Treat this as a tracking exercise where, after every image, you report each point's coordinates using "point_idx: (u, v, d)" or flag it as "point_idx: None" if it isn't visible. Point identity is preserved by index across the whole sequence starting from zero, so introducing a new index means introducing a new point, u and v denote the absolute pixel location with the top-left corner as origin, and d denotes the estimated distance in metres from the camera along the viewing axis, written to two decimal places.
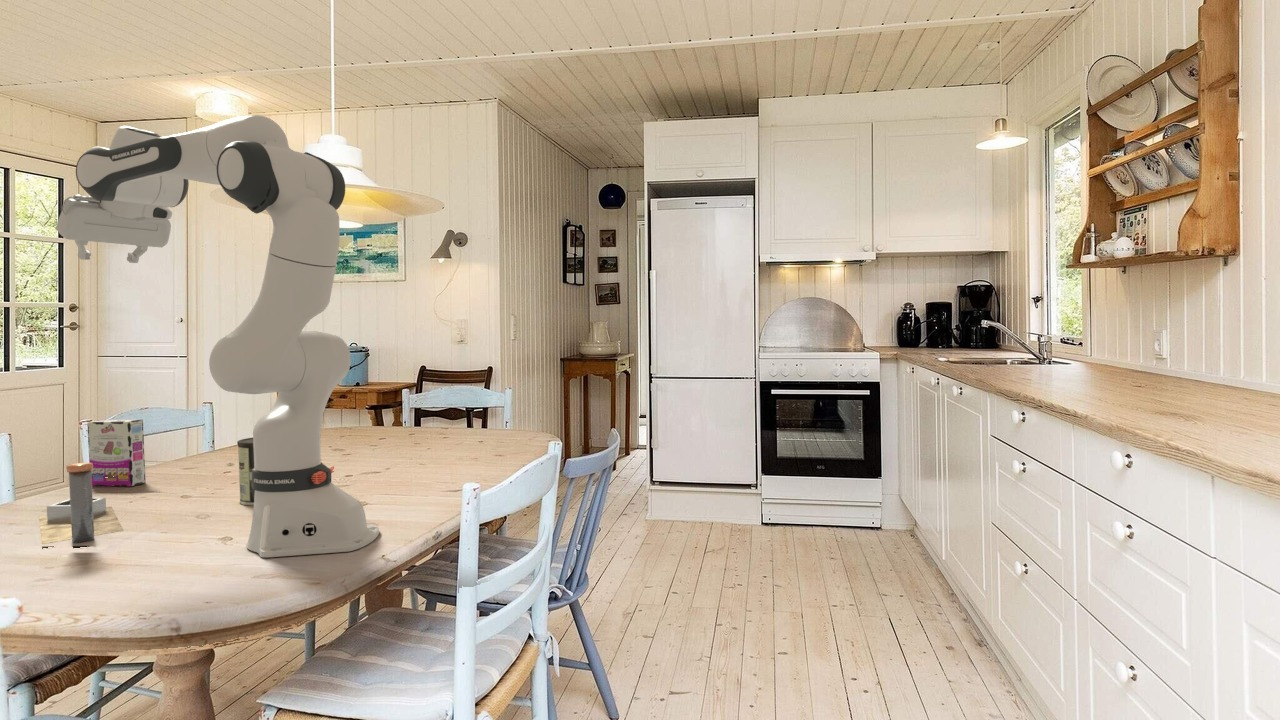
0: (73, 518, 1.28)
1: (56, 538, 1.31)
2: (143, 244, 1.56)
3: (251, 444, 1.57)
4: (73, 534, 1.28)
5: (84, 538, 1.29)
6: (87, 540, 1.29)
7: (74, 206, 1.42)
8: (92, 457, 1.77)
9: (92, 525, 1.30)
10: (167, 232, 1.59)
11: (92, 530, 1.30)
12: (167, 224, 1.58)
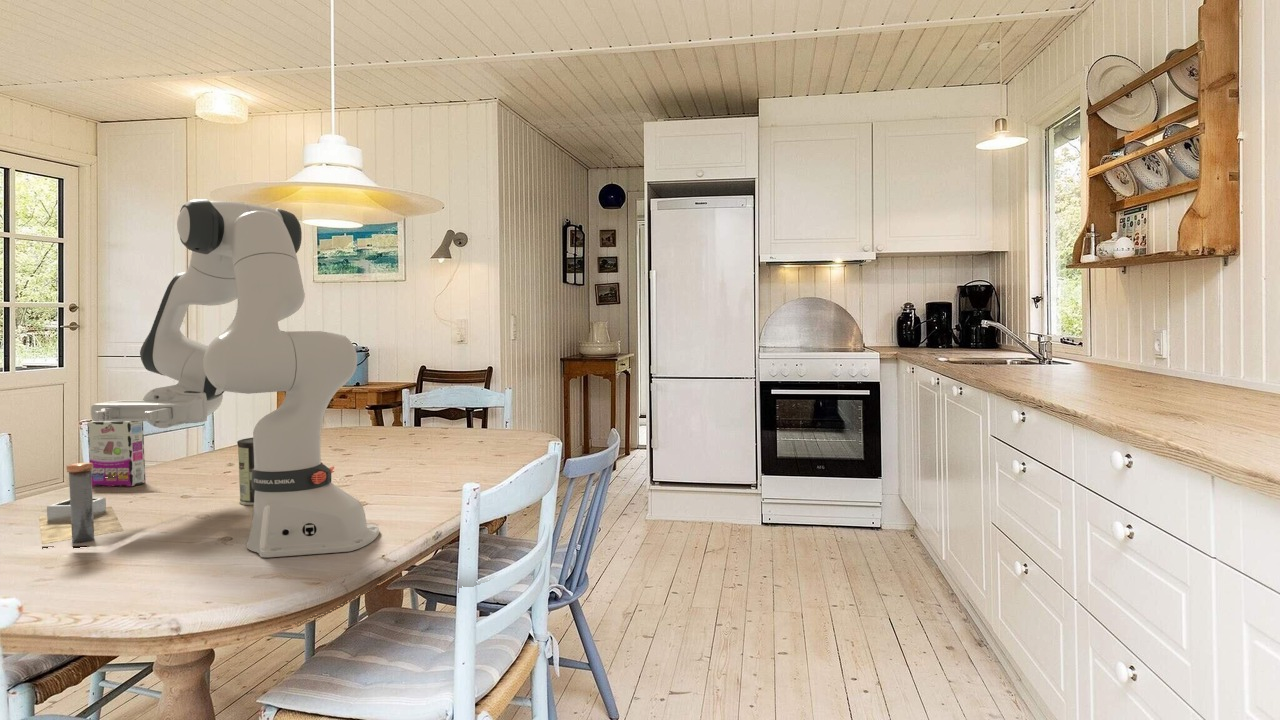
0: (73, 518, 1.28)
1: (56, 538, 1.31)
2: (165, 404, 1.46)
3: (251, 444, 1.57)
4: (73, 534, 1.28)
5: (84, 538, 1.29)
6: (87, 540, 1.29)
7: None
8: (92, 457, 1.77)
9: (92, 525, 1.30)
10: (195, 399, 1.50)
11: (92, 530, 1.30)
12: (197, 397, 1.52)
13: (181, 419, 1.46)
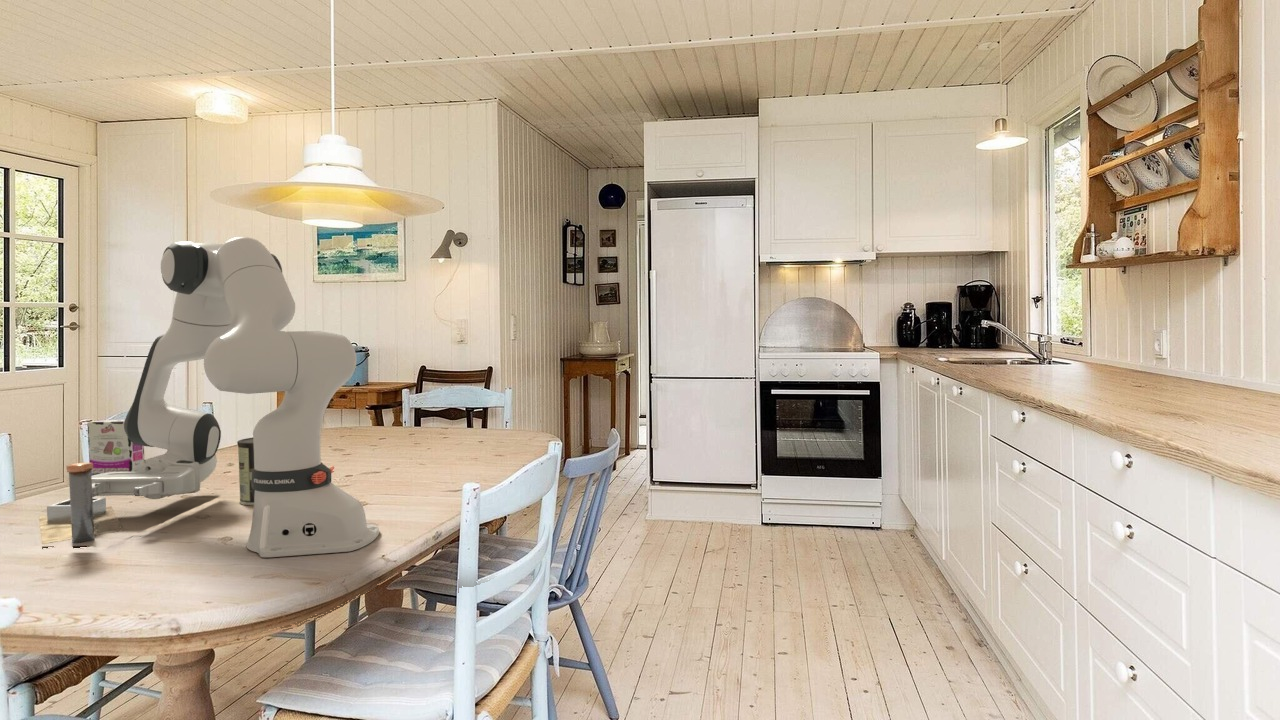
0: (73, 518, 1.28)
1: (56, 538, 1.31)
2: (156, 477, 1.43)
3: (251, 444, 1.57)
4: (73, 534, 1.28)
5: (84, 538, 1.29)
6: (87, 540, 1.29)
7: None
8: (92, 457, 1.77)
9: (92, 525, 1.30)
10: (187, 471, 1.46)
11: (92, 530, 1.30)
12: (190, 468, 1.48)
13: (172, 493, 1.43)
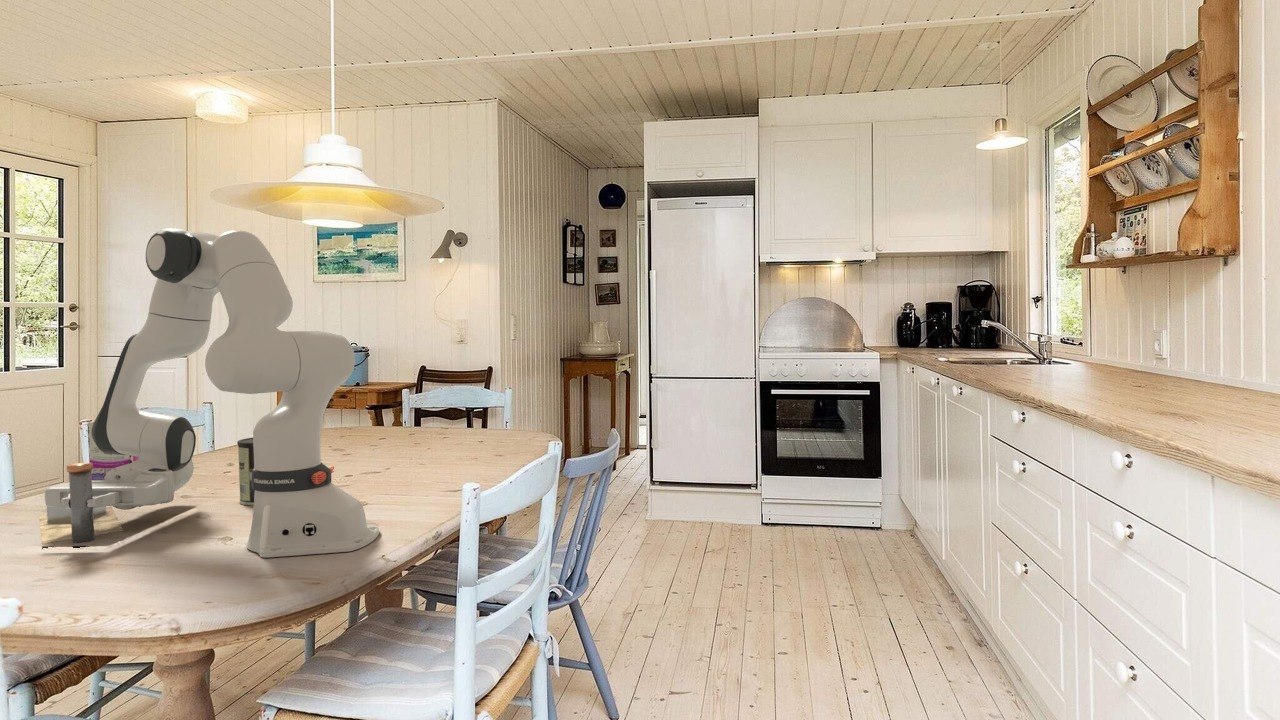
0: (73, 518, 1.28)
1: (56, 538, 1.31)
2: (125, 487, 1.34)
3: (251, 444, 1.57)
4: (73, 534, 1.28)
5: (84, 538, 1.29)
6: (87, 540, 1.29)
7: None
8: (92, 457, 1.77)
9: (92, 525, 1.30)
10: (159, 480, 1.38)
11: (92, 530, 1.30)
12: (162, 476, 1.39)
13: (143, 503, 1.34)
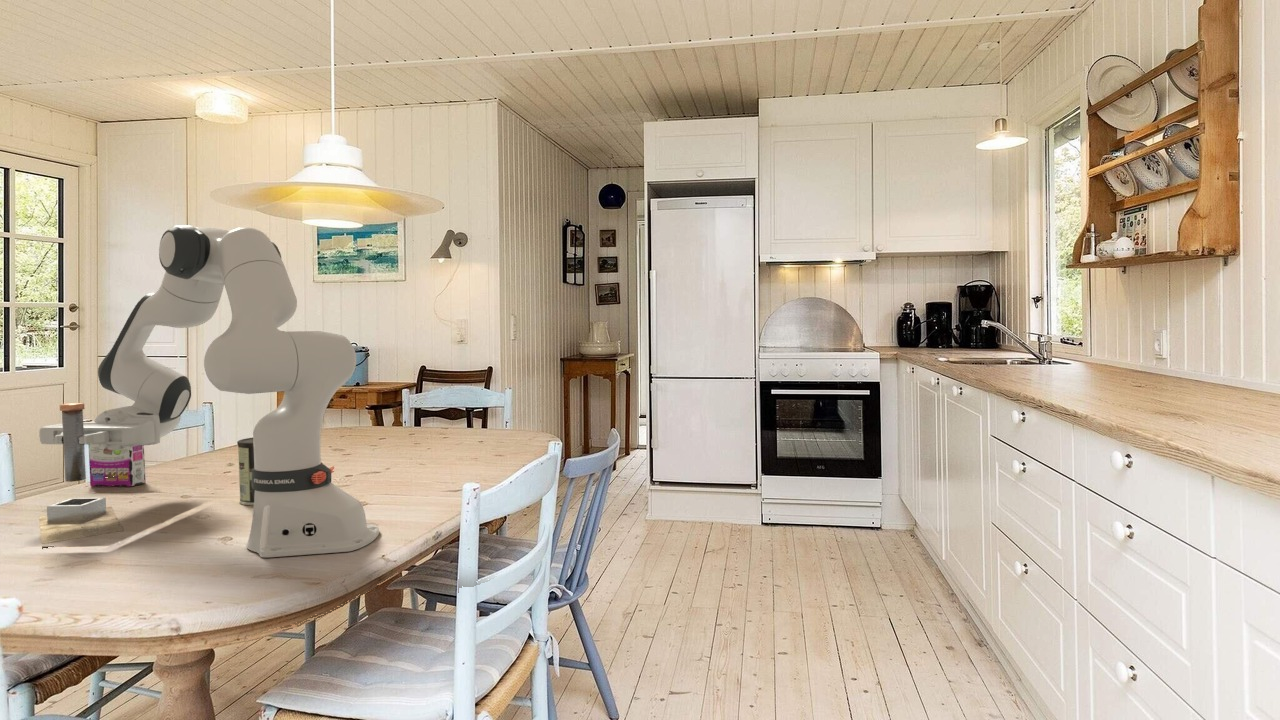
0: (66, 453, 1.39)
1: (56, 538, 1.31)
2: (114, 427, 1.44)
3: (251, 444, 1.57)
4: (66, 468, 1.39)
5: (76, 472, 1.39)
6: (79, 474, 1.40)
7: None
8: (92, 457, 1.77)
9: (83, 461, 1.41)
10: (146, 422, 1.48)
11: (83, 465, 1.41)
12: (149, 419, 1.50)
13: (130, 442, 1.44)
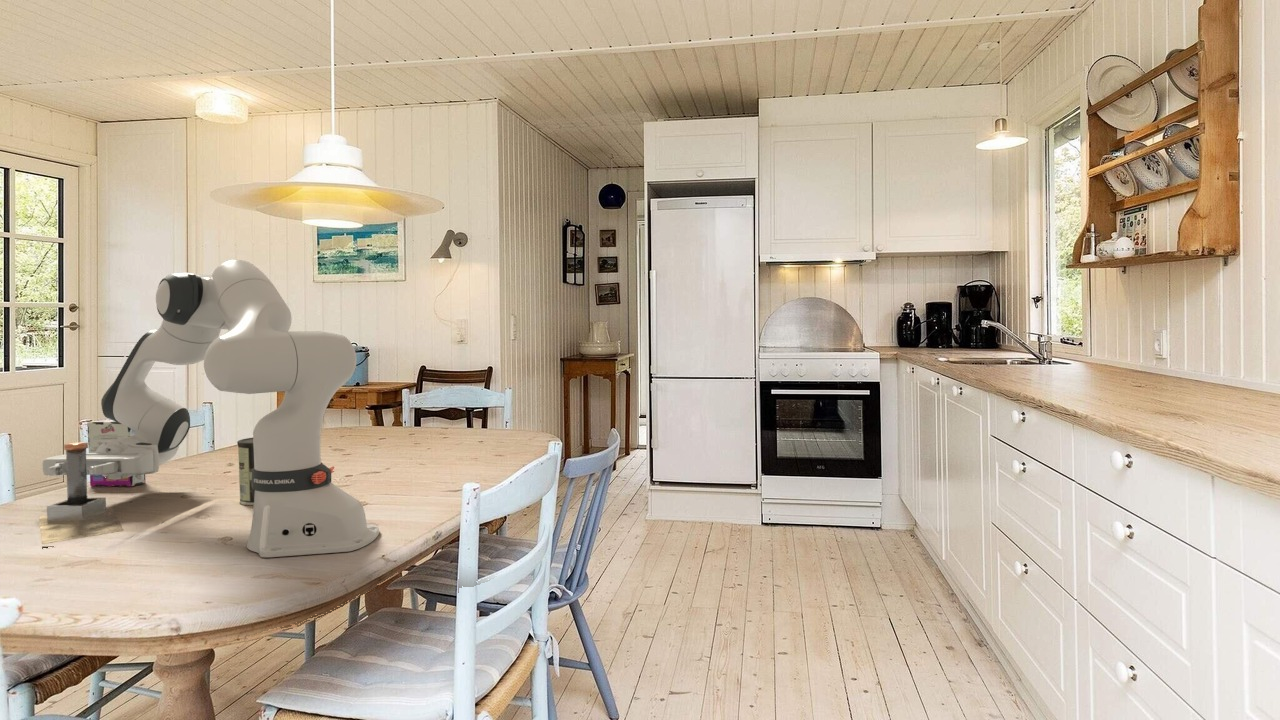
0: (69, 491, 1.44)
1: (56, 538, 1.31)
2: (114, 457, 1.50)
3: (251, 444, 1.57)
4: None
5: None
6: None
7: None
8: None
9: (86, 498, 1.46)
10: (145, 452, 1.54)
11: (85, 502, 1.46)
12: (148, 449, 1.56)
13: (130, 472, 1.50)
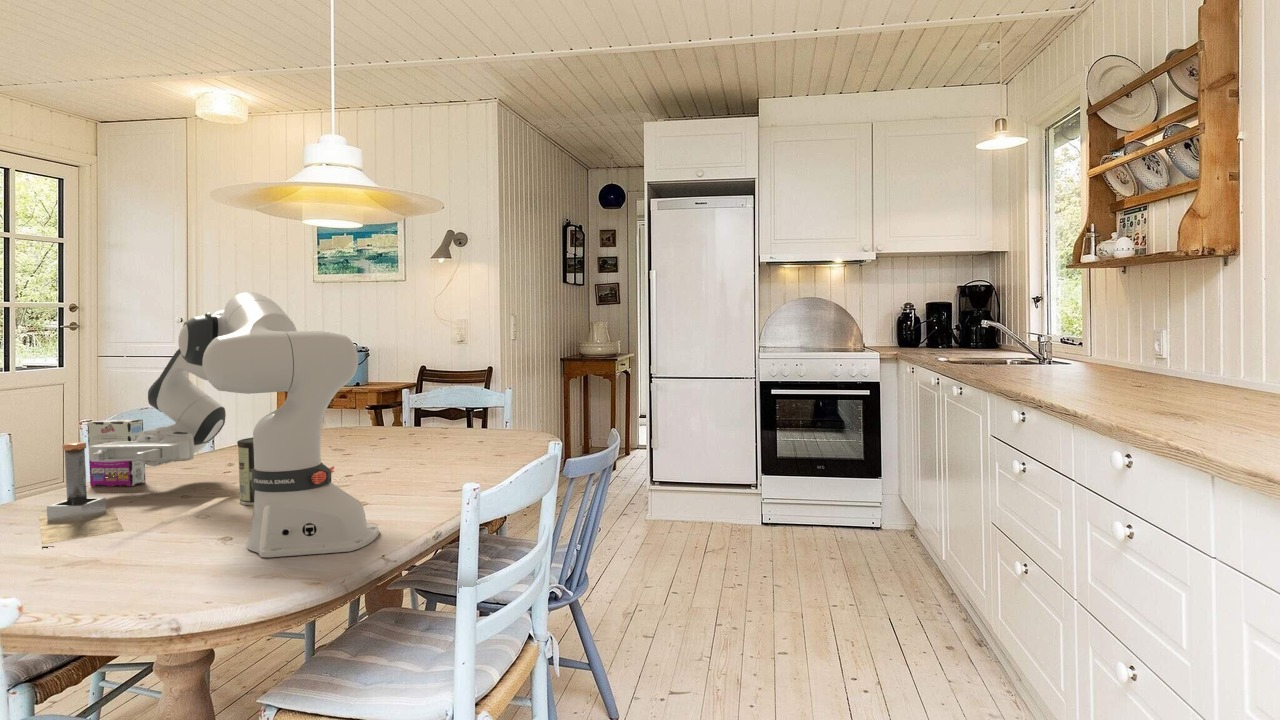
0: (68, 491, 1.44)
1: (56, 538, 1.31)
2: (155, 445, 1.63)
3: (251, 444, 1.57)
4: None
5: None
6: None
7: None
8: None
9: (85, 498, 1.46)
10: (182, 440, 1.67)
11: (85, 502, 1.46)
12: (185, 437, 1.68)
13: (169, 458, 1.63)
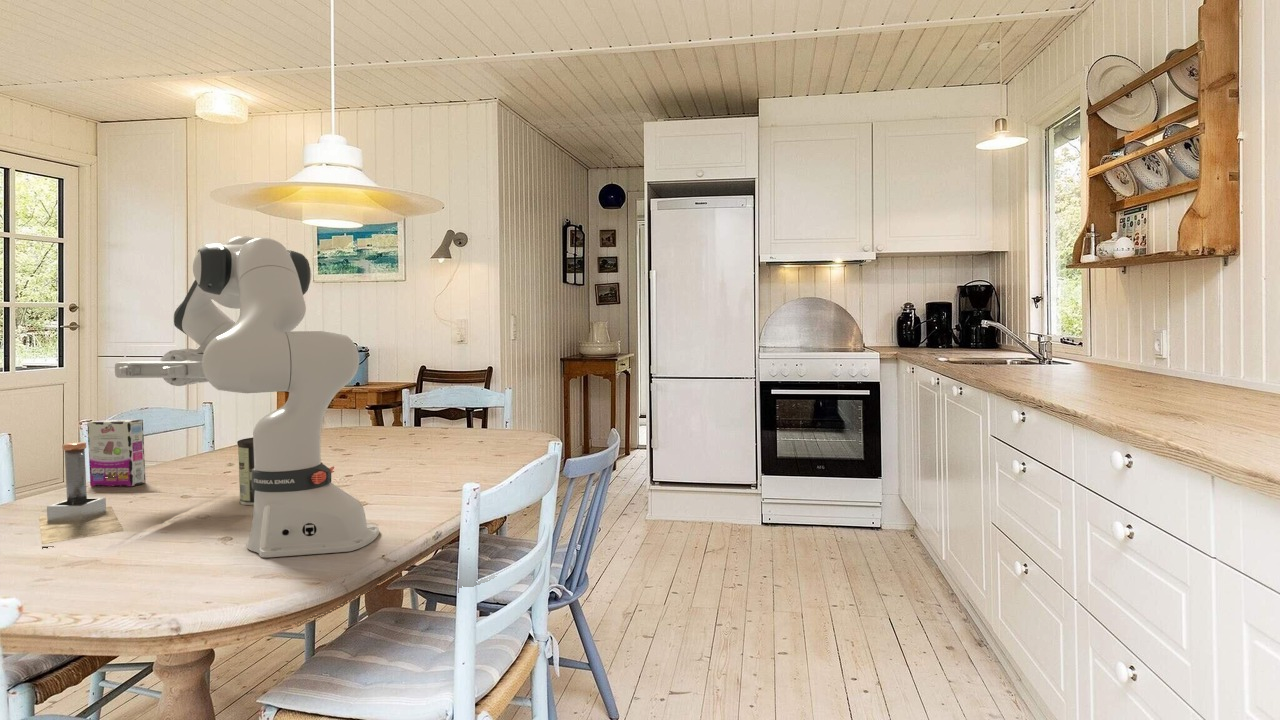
0: (68, 491, 1.44)
1: (56, 538, 1.31)
2: (181, 362, 1.63)
3: (251, 444, 1.57)
4: None
5: None
6: None
7: None
8: (92, 457, 1.77)
9: (85, 498, 1.46)
10: None
11: (85, 502, 1.46)
12: None
13: (195, 375, 1.63)
